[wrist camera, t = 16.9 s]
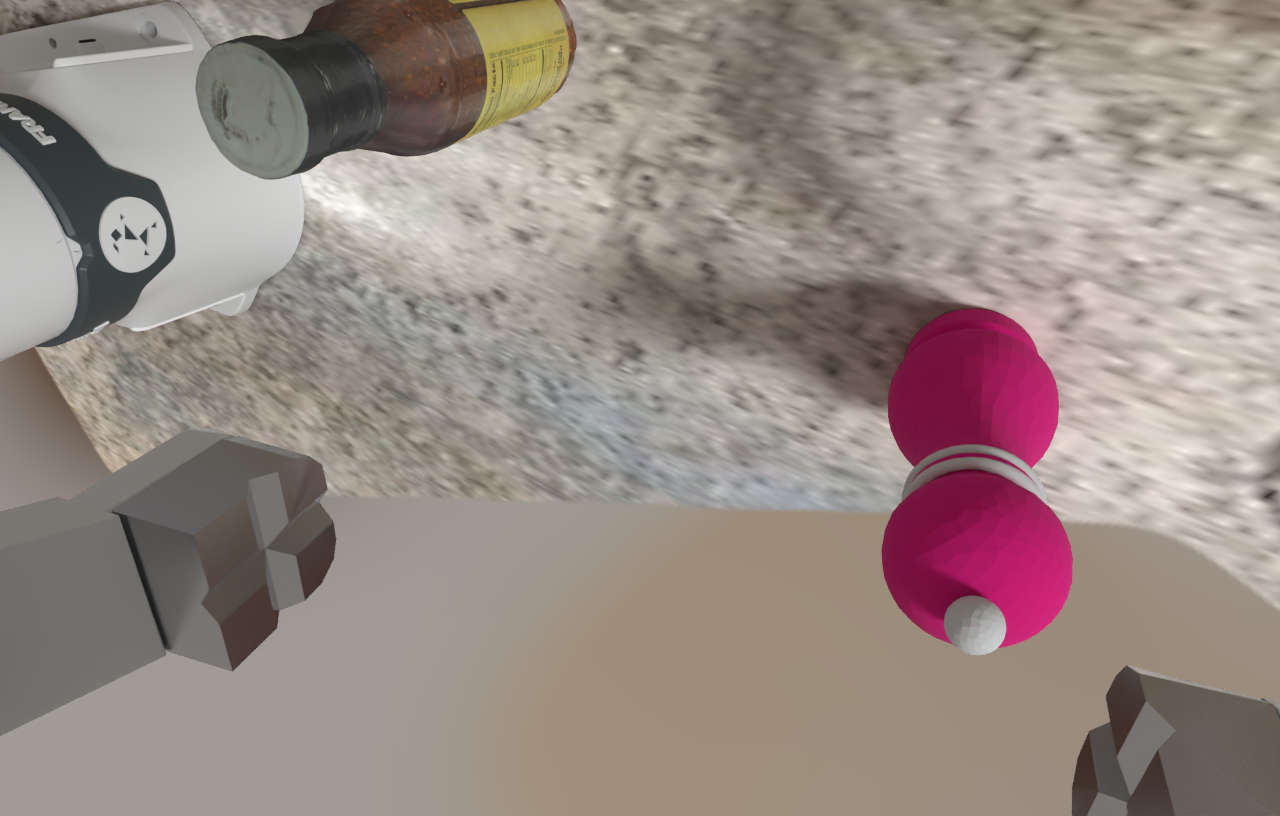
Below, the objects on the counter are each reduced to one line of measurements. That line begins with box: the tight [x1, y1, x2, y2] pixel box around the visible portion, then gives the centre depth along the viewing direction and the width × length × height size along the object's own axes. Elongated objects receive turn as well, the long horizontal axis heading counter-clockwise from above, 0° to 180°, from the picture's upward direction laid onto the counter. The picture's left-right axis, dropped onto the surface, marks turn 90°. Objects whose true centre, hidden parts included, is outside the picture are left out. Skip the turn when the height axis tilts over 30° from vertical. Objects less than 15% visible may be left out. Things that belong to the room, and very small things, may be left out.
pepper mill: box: [882, 309, 1073, 655], centre depth 33 cm, size 7×7×20 cm
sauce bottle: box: [195, 0, 576, 180], centre depth 32 cm, size 6×6×20 cm
